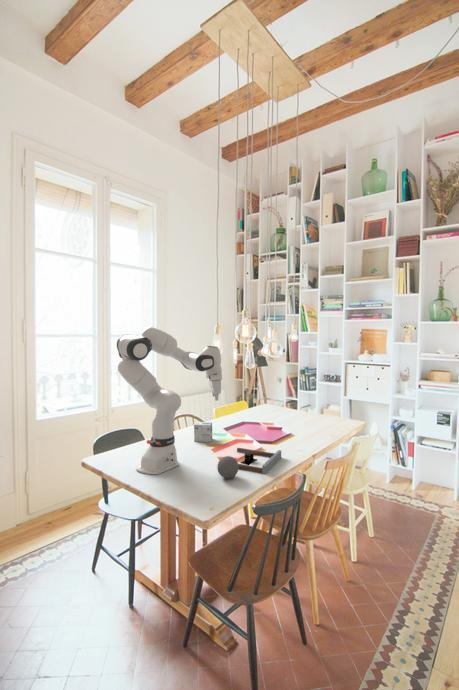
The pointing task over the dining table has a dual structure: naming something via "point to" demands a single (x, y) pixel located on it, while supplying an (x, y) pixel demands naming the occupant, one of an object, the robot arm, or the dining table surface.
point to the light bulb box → (203, 432)
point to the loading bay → (265, 467)
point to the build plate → (249, 459)
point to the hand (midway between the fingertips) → (215, 398)
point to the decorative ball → (227, 467)
